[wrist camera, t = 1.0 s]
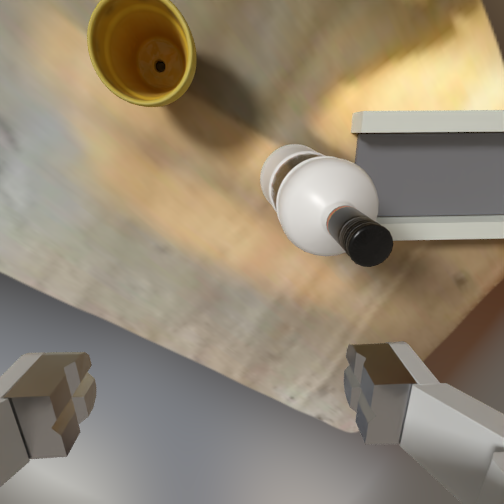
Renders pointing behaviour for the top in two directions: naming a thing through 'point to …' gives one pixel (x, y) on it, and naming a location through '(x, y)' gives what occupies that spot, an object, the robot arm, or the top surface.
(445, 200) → the cradle
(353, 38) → the top surface
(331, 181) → the vodka
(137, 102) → the plant pot
